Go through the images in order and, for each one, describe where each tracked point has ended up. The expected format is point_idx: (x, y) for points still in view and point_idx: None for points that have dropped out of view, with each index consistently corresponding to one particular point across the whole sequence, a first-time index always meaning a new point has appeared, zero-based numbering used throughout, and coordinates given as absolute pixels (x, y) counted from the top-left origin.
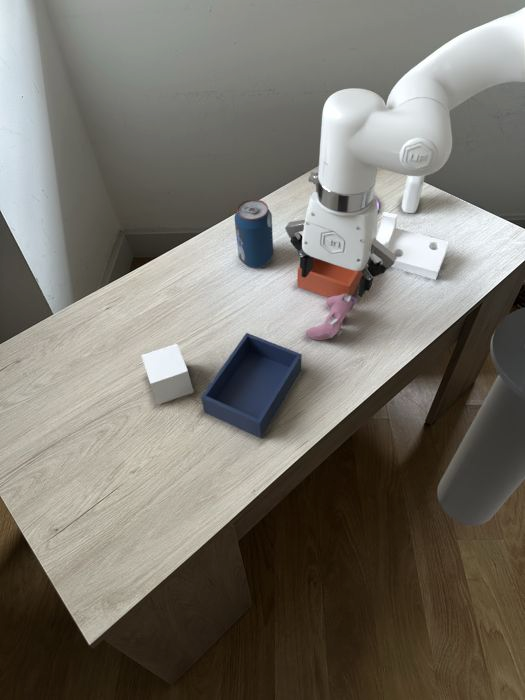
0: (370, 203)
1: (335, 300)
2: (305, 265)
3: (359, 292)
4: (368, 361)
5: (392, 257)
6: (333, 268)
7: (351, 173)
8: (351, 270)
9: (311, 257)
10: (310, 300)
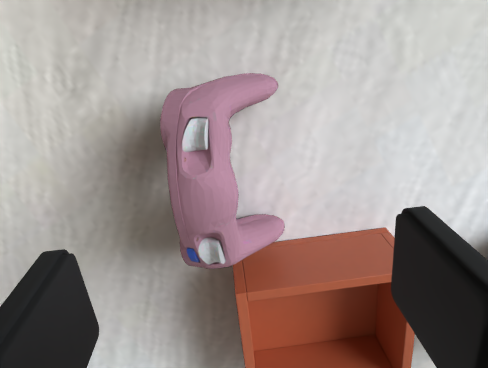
0: None
1: (254, 232)
2: (460, 267)
3: (46, 269)
4: (53, 98)
5: None
6: (324, 324)
7: None
8: (278, 341)
9: (447, 342)
10: (329, 206)
